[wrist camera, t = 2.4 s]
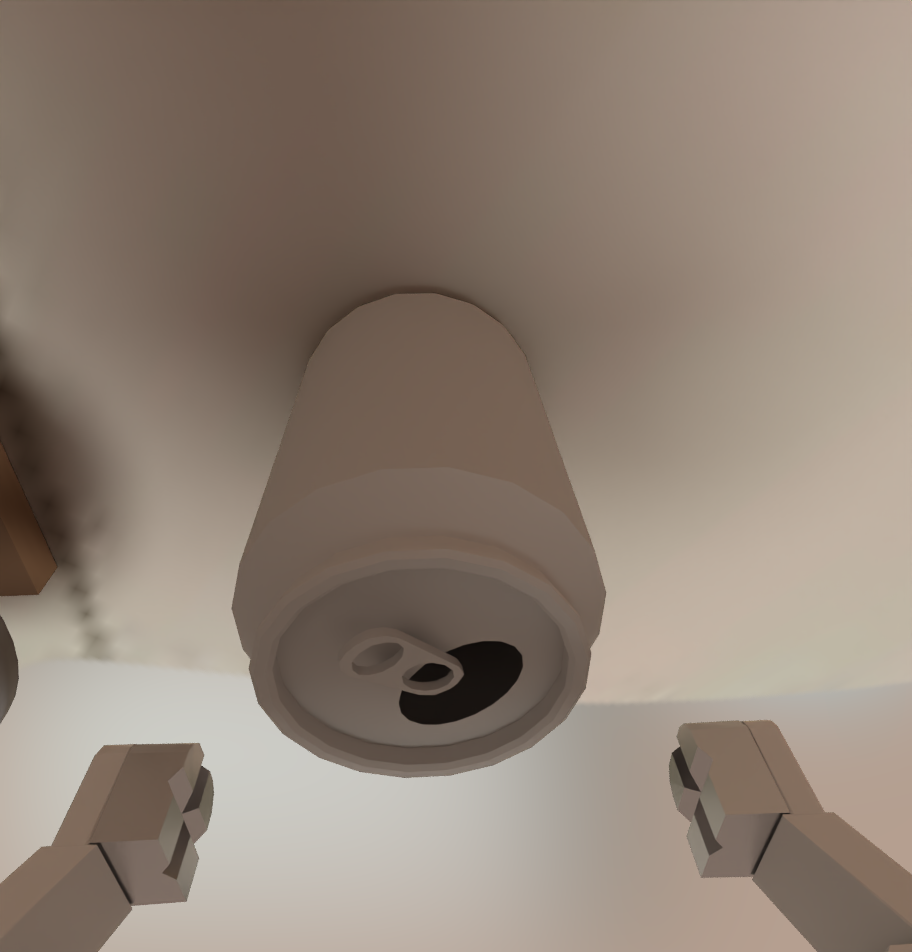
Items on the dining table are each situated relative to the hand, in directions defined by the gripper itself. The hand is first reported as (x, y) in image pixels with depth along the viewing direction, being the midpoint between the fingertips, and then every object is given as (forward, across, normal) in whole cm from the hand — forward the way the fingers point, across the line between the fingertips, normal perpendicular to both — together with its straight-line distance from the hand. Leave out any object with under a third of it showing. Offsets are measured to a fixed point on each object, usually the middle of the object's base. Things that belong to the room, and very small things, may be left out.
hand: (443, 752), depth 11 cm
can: (+13, 0, -1) cm, 13 cm away
